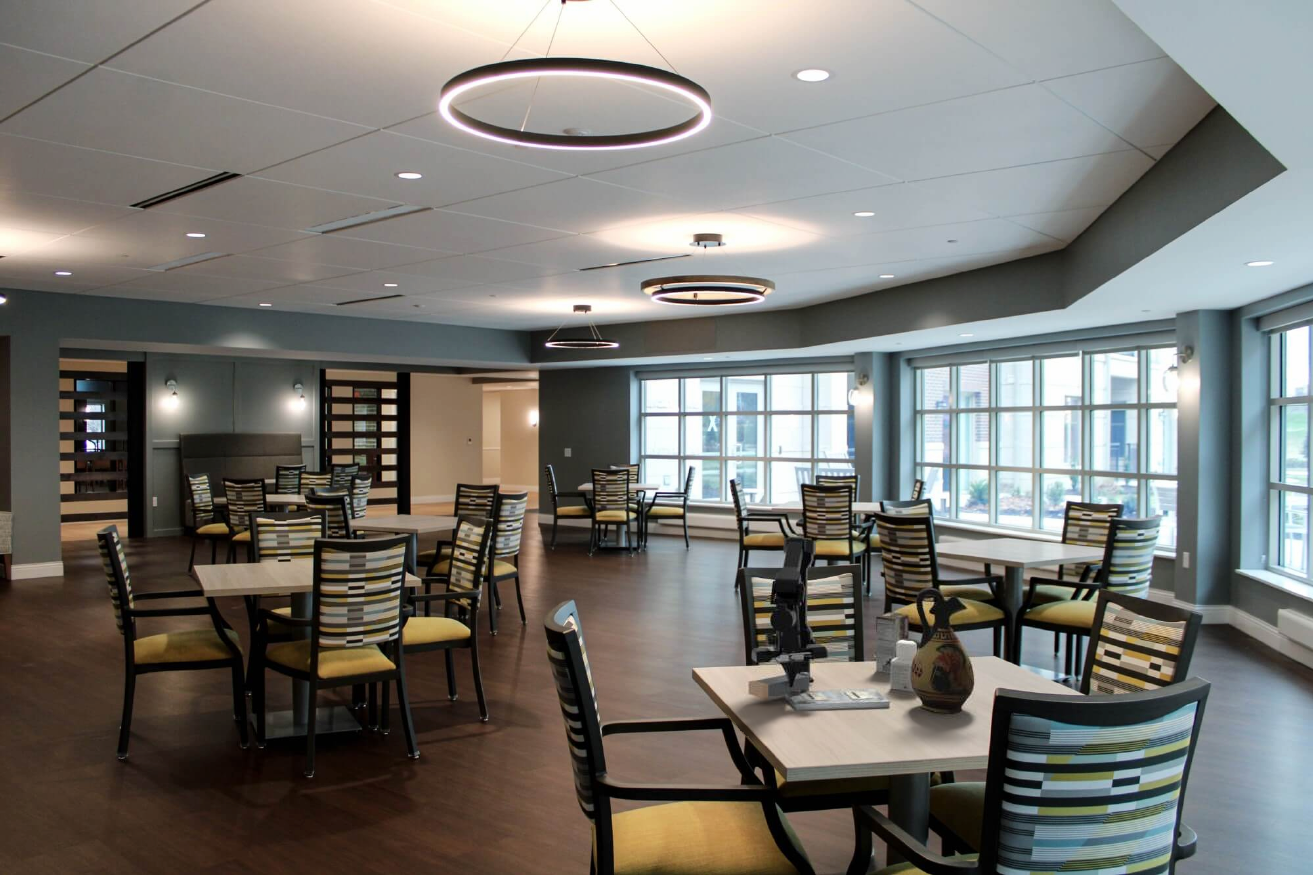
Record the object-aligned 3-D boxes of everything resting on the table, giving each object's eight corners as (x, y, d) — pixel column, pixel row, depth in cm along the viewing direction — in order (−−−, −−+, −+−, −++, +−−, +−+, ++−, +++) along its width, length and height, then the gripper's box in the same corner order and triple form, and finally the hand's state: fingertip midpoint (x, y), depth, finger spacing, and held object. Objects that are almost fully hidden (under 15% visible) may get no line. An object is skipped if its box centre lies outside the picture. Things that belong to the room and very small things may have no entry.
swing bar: (800, 690, 256) (800, 670, 256) (814, 694, 252) (814, 674, 252) (748, 701, 245) (748, 680, 245) (762, 705, 241) (762, 684, 241)
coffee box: (889, 665, 286) (889, 611, 287) (909, 668, 282) (909, 614, 282) (875, 671, 279) (875, 615, 279) (895, 674, 275) (895, 618, 275)
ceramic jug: (972, 702, 246) (972, 585, 246) (975, 719, 231) (976, 595, 231) (904, 697, 251) (904, 583, 251) (903, 713, 236) (903, 591, 236)
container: (898, 682, 266) (898, 636, 266) (926, 686, 262) (926, 639, 262) (890, 689, 259) (890, 640, 259) (918, 692, 255) (918, 644, 255)
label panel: (784, 697, 250) (784, 690, 250) (873, 694, 253) (873, 688, 253) (796, 710, 239) (796, 702, 239) (889, 707, 241) (889, 700, 241)
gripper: (813, 619, 256) (816, 678, 255) (745, 623, 253) (748, 683, 252) (826, 625, 245) (830, 686, 244) (755, 630, 242) (758, 692, 241)
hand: (791, 687), depth 246 cm, fingers closed
